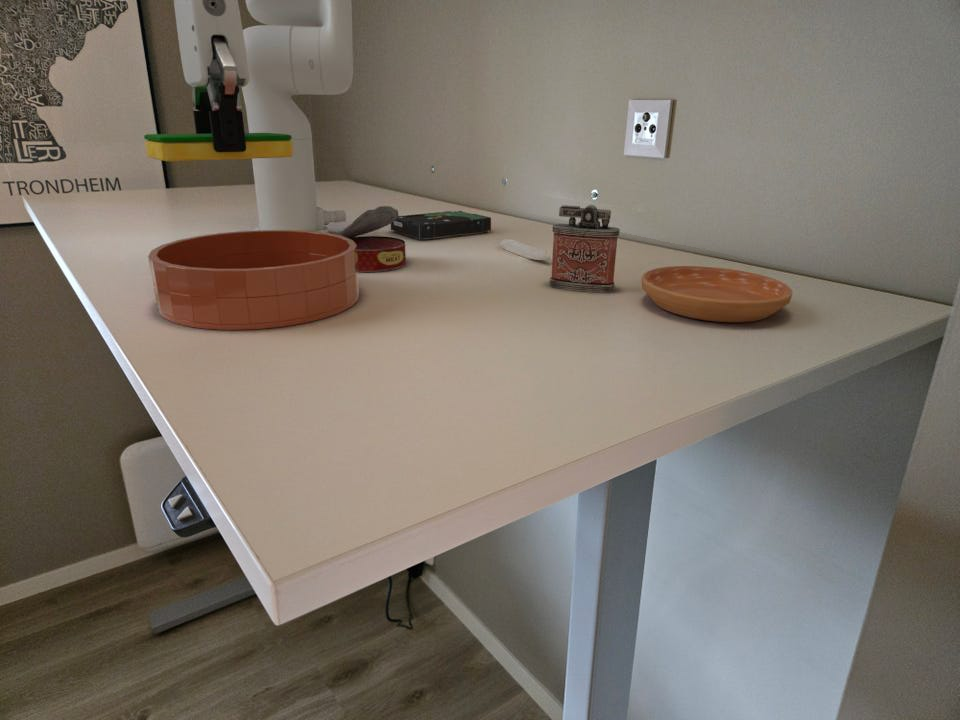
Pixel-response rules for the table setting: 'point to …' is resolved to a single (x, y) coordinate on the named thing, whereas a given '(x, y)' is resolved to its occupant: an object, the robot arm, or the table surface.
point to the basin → (254, 278)
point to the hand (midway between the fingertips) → (221, 148)
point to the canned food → (376, 241)
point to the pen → (525, 250)
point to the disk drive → (441, 224)
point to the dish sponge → (202, 147)
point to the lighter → (584, 250)
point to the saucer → (715, 293)
